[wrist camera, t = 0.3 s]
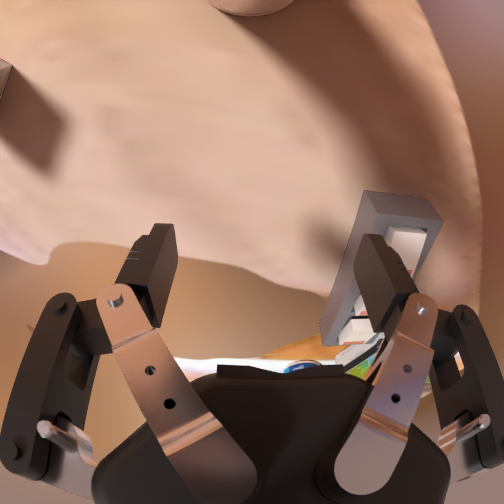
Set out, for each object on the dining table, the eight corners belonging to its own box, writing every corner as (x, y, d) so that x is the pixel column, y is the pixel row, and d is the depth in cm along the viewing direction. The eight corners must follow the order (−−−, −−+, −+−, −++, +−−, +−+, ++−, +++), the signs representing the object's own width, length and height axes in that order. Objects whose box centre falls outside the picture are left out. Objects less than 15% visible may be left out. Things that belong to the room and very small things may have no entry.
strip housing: (363, 190, 29) (377, 213, 26) (426, 199, 30) (443, 221, 26) (318, 323, 46) (322, 345, 43) (367, 321, 46) (372, 343, 43)
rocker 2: (351, 319, 37) (352, 331, 36) (378, 318, 37) (380, 330, 36) (338, 334, 42) (339, 345, 41) (363, 333, 42) (364, 343, 41)
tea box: (382, 316, 45) (403, 392, 34) (414, 325, 48) (435, 391, 37) (332, 356, 55) (341, 422, 43) (366, 361, 57) (377, 420, 46)
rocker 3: (387, 223, 28) (395, 231, 26) (419, 227, 28) (427, 234, 27) (374, 271, 31) (380, 280, 29) (405, 271, 31) (411, 280, 29)
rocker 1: (370, 281, 32) (372, 295, 31) (399, 281, 32) (403, 294, 31) (353, 303, 37) (355, 316, 36) (381, 303, 37) (383, 315, 36)
